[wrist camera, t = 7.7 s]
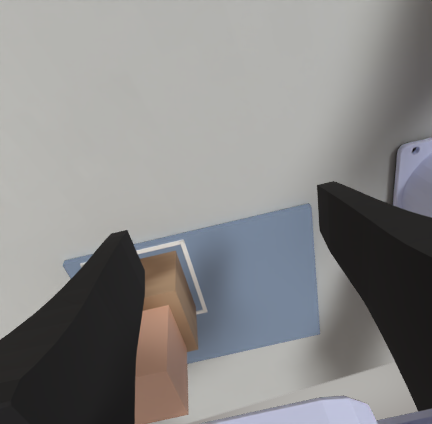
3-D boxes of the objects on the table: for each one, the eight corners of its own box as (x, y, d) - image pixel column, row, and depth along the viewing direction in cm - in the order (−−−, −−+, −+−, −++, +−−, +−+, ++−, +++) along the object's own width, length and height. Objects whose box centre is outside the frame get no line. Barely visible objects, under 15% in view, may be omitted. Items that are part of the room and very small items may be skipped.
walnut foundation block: (175, 250, 24) (175, 290, 20) (195, 306, 27) (198, 349, 23) (95, 269, 24) (81, 311, 20) (124, 322, 27) (117, 367, 24)
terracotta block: (168, 304, 21) (166, 370, 17) (186, 348, 23) (188, 414, 19) (100, 320, 21) (82, 389, 17) (125, 361, 23) (114, 430, 20)
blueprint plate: (308, 203, 23) (311, 207, 23) (318, 329, 31) (320, 335, 30) (64, 260, 24) (62, 266, 23) (131, 371, 31) (130, 377, 31)
